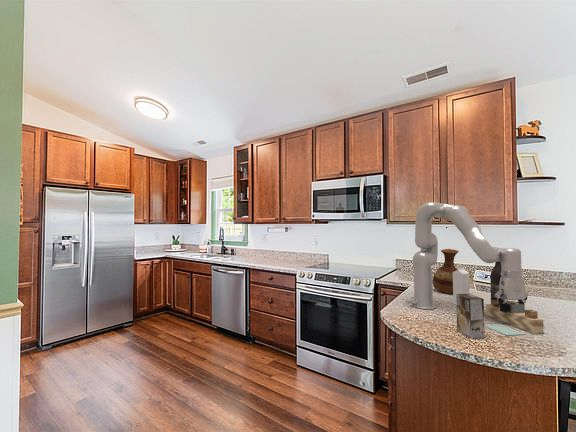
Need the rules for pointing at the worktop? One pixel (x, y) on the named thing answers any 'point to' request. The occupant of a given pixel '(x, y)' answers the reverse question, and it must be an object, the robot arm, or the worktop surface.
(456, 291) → the milk
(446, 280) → the brown ceramic vase
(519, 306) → the lever cap
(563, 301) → the worktop surface
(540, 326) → the body
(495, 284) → the wine bottle
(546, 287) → the worktop surface
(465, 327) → the coffee box
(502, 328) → the mat
